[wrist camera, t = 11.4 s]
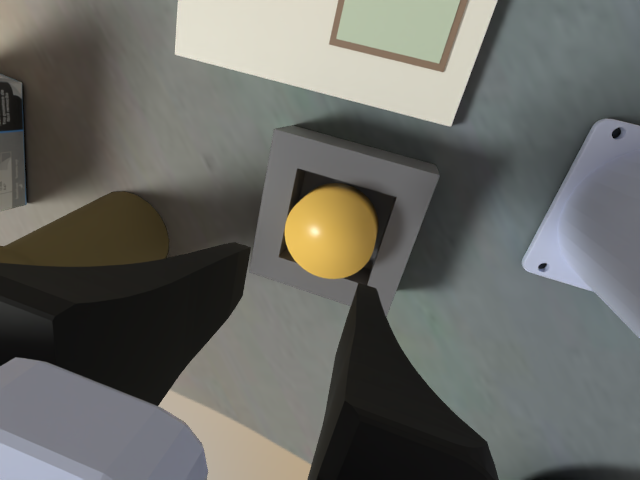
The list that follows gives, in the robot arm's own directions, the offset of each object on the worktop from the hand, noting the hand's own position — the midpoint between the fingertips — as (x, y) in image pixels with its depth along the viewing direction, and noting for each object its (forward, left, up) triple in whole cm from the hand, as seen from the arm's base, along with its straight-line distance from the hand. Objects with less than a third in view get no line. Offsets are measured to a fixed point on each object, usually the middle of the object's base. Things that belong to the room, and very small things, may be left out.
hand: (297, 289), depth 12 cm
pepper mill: (+14, +6, -10) cm, 18 cm away
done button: (0, 0, -7) cm, 7 cm away
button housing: (0, 0, -9) cm, 9 cm away
